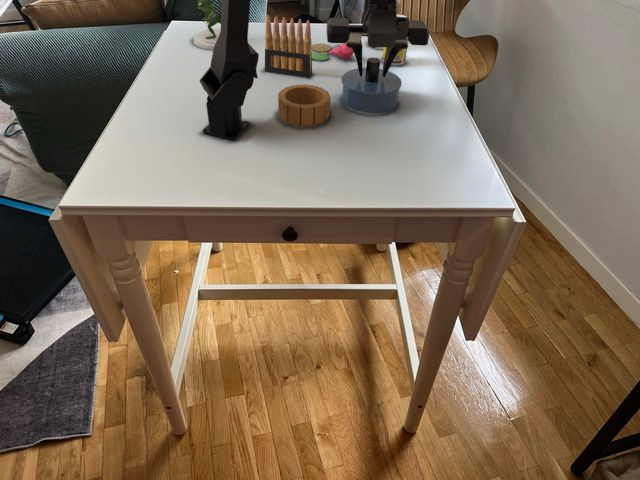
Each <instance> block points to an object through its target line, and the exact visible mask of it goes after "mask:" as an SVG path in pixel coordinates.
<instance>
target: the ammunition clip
mask: <svg viewBox="0 0 640 480" xmlns="http://www.w3.org/2000/svg"><path fill="white" fill-rule="evenodd" d="M279 22H280V21H279V19H278V16H277V15H275V16H274V20H273V30H272V21H271V17H270V15H269V14H267V15H266V18H265V33H264V34H265V35H264V47H265V48H264V72H265V73H272V74H273V73H274V74H280V75H285V76H286V75H287V76H294V77H300V78H308V79H311V77H312V75H313V59H312V54H313V52H312V34H311V32H312V31H311V30H312V29H311V22H310V20H309V19H307V21H306V23H305V27H304V26H303V23H302V19H301V18H299V19H298V22H297V28H296V27H295V21H294V18H293V17H291V18H290V21H289V26H288V23H287V19H286V17H285V16H283V18H282V20H281V30H280V23H279ZM303 27H304V28H303ZM272 31H273V32H272Z"/></svg>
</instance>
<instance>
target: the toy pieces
mask: <svg viewBox="0 0 640 480" xmlns="http://www.w3.org/2000/svg"><path fill="white" fill-rule="evenodd" d="M311 50H313V51H315V53H313V52H312V60H315V61H320V62H321V61H323V62H324V61H327V60H329V54H331V55H333V56H335V57H338V58H340V59H342V60H346V61H348V60H350V59H351V58H352V57H353V55H354V51H353V49H352V48H349V47H347V46H346V42H345V43H341V44H337V46H334V47H333V48H332V47H331V46H330V45H328V44H326V43H325V44H324V43H317V44H314V45H313V46H311ZM328 52H329V53H328Z"/></svg>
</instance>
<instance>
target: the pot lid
mask: <svg viewBox="0 0 640 480" xmlns="http://www.w3.org/2000/svg"><path fill="white" fill-rule="evenodd" d="M380 67H381V60H380V58H378V57H367V59H366V67H363V71H362V76H360V74H359V70H358V67H357V68H353V69H349V70H348V71H346V72H344V73H343V74H342V76H341V84H342V86H343V85H344V86H345V87H346V88H347V89H349V90H351V91H353V92H356V93H359V94H364V95H373V96H379V95H387V94H391V93H394V92H396V91H398V90H399V91H400V89H401V87H402V83H403V82H402V79H401V77H399V76H398V74H395V73H394V72H391V71H389V70H388V72H387V74H386V76H385V77H383V75H382V73H383V68H380Z"/></svg>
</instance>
